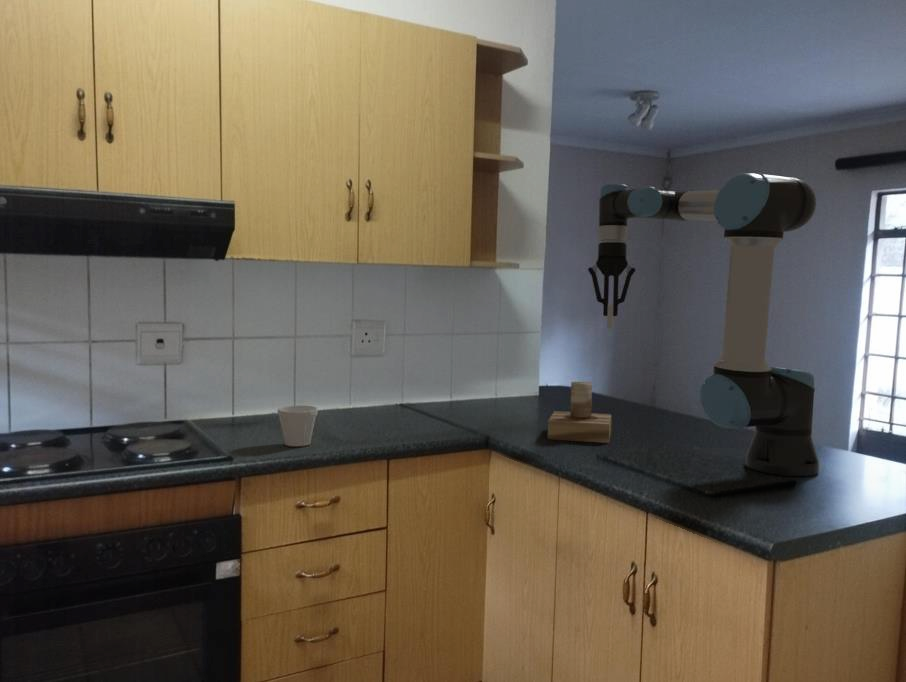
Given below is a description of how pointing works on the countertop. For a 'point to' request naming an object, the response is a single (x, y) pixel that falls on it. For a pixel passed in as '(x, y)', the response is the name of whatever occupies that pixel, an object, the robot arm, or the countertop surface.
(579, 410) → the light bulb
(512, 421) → the countertop surface
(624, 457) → the countertop surface
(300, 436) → the cup
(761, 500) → the countertop surface
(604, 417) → the block
